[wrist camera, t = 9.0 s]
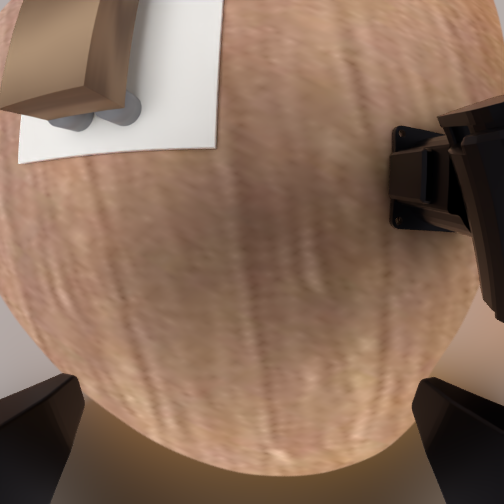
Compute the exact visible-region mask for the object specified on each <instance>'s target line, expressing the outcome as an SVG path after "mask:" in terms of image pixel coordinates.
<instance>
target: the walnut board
mask: <svg viewBox="0 0 504 504" xmlns="http://www.w3.org/2000/svg"><path fill="white" fill-rule="evenodd" d="M138 4H139V0H23V3H22V6H21V9H20V12H19V15H18V18H17V21H16V24H15V28H14V31H13V35H12V38H11V42H10V46H9V50H8V54H7V58H6V63H5V68H4V72H3V78H2V83H1V89H0V110H4V111H9V112H13V113H18V114H22V115H26V116H31V117H35V118H39V119H43V120H47V121H48V120H53V119H58V118H63V117H68V116H73V115H79V114H85V113H91V112H98V111H105V110H112V109H120V108H125V95H126V85H127V75H128V67H129V59H130V51H131V44H132V38H133V32H134V26H135V20H136V14H137V9H138Z"/></svg>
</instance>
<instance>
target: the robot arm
mask: <svg viewBox="0 0 504 504" xmlns="http://www.w3.org/2000/svg"><path fill="white" fill-rule="evenodd" d="M437 118H438V121H439V123H440V126H441V127H443V129H444V131H445V134H446V135H443V134H439V133H435V132H430V131H426V130H421V129H416V128H411V127H406V126H397V127H395V128H394V129H393V153H392V154H391V155H390V175H389V195H390V197H391V206H390V224H391V226H392V227H394V228H397V229H410V230H427V231H443V232H458V233H461V234H464V235H467V236H471V237H472V240H473V245H474V250H475V255H476V261H477V267H478V274H479V280H480V288H481V292H482V296H483V300H484V301H485V302H486V303H487V305H488V306H489V307H490V308H491V309H492V310H493V311H494V312H495V318H496V319H497V320H499V321H501V322H503V323H504V95H501V96H497V97H493V98H490V99H487V100H484V101H481V102H478V103H475V104H472V105H469V106H466V107H463V108H460V109H457V110H454V111H451V112H449V113H446V114H443V115H440V116H438V117H437ZM399 130H400V131H401V132H402V133H403V136H402V137H400V135H399ZM397 217H399V219H400V221H399V223H398V224H396V218H397ZM84 406H85V401H84V397H83V394H82V391H81V387H80V384H79V381H78V379H77V377H76V376H74V375H70V374H65V373H62V374H59V375H57V376H55V377H52V378H50V379H48V380H45V381H43V382H41V383H38V384H36V385H34V386H31V387H29V388H26V389H24V390H22V391H19V392H17V393H14V394H12V395H10V396H7V397H5V398H2V399H0V504H50V503H51V500H52V497H53V495H54V492H55V489H56V487H57V484H58V482H59V479H60V477H61V474H62V472H63V469H64V467H65V464H66V462H67V460H68V457H69V455H70V452H71V449H72V446H73V443H74V439H75V436H76V433H77V429H78V426H79V423H80V420H81V417H82V413H83V410H84ZM412 411H413V414H414V417H415V421H416V423H417V427H418V430H419V433H420V436H421V440H422V443H423V446H424V449H425V452H426V455H427V457H428V460H429V462H430V465H431V467H432V469H433V472H434V474H435V477H436V479H437V482H438V484H439V486H440V489H441V492H442V494H443V497H444V499H445V502H446V504H504V406H502V405H500V404H497V403H495V402H492V401H490V400H488V399H485V398H483V397H480V396H478V395H476V394H473V393H471V392H468V391H466V390H464V389H461V388H459V387H457V386H454V385H452V384H450V383H447V382H445V381H443V380H441V379H438V378H436V377H431V378H425V379H422V380H421V381H420V383H419V385H418V388H417V391H416V394H415V397H414V399H413V402H412Z"/></svg>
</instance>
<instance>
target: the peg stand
mask: <svg viewBox="0 0 504 504" xmlns="http://www.w3.org/2000/svg"><path fill="white" fill-rule="evenodd" d="M223 5H224V0H139V4H138V9H137V14H136V20H135V26H134V32H133V38H132V44H131V51H130V59H129V67H128V75H127V85H126V95H125V108H120V109H112V110H105V111H98V112H91V113H85V114H79V115H73V116H68V117H63V118H58V119H53V120H48V121H47V120H43V119H39V118H35V117H31V116H26V115H22V114H21V124H20V136H19V154H18V164H28V163H34V162H40V161H47V160H55V159H62V158H70V157H79V156H88V155H98V154H109V153H121V152H135V151H153V150H177V149H216V138H217V109H218V86H219V67H220V49H221V33H222V19H223Z"/></svg>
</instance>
